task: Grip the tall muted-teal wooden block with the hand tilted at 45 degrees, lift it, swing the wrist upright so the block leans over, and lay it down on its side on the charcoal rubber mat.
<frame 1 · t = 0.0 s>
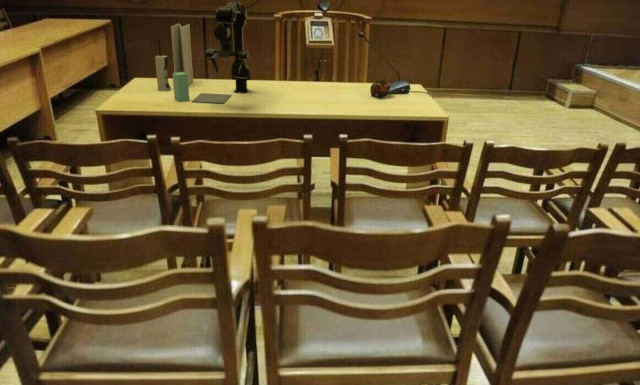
hand: (227, 73, 224), 15 cm above the table, tool pointing down, fingers open, 9 cm apart
decorative turtle: (379, 96, 258), on the table
brochure: (184, 84, 265), on the table
rubber mat: (212, 99, 240), on the table
vintage mobile phone: (164, 90, 252), on the table
teal block: (182, 100, 236), on the table
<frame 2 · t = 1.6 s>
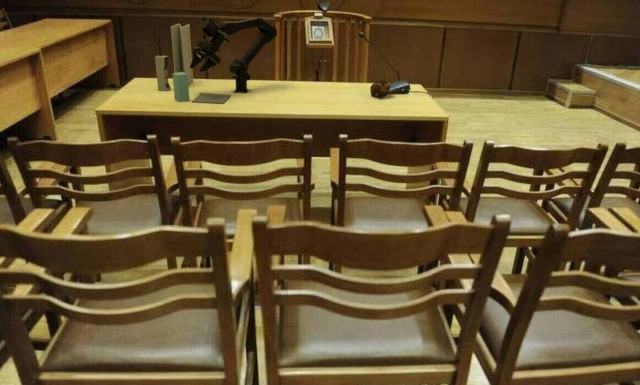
hand: (195, 69, 235), 13 cm above the table, tool tilted 45°, fingers open, 9 cm apart
nothing on the table moved.
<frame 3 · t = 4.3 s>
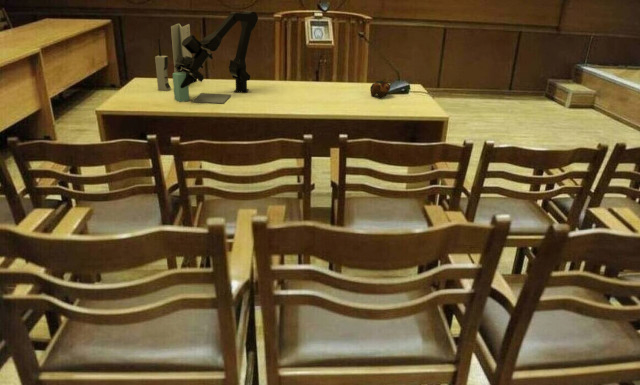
hand: (178, 86, 232), 7 cm above the table, tool tilted 45°, fingers closed on teal block, 5 cm apart
teal block: (182, 100, 236), on the table, touching gripper
everything else where it was.
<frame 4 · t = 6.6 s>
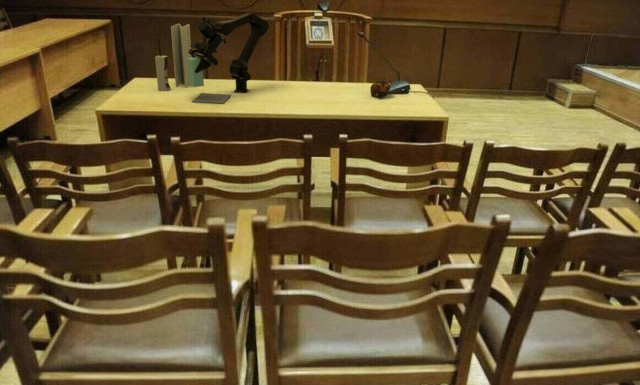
hand: (192, 71, 232), 13 cm above the table, tool tilted 45°, fingers closed on teal block, 5 cm apart
teal block: (196, 85, 235), point 7 cm above the table, touching gripper
everything else where it was.
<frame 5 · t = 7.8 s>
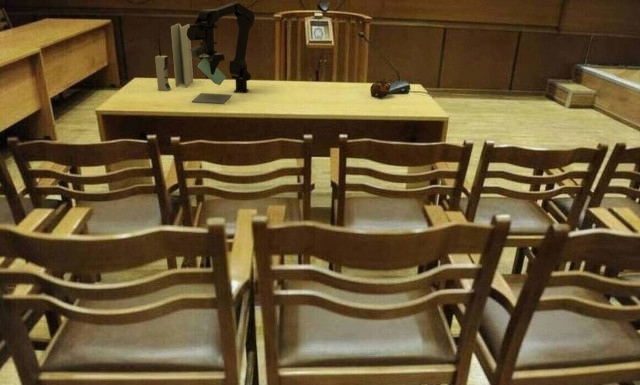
hand: (209, 73, 235), 12 cm above the table, tool pointing down, fingers closed on teal block, 5 cm apart
teal block: (220, 80, 240), point 8 cm above the table, tilted 44°, touching gripper
everything else where it was.
when the fingers open (7 cm above the table, at t = 9.1 s): teal block moves 2 cm and tips over, resting on rubber mat.
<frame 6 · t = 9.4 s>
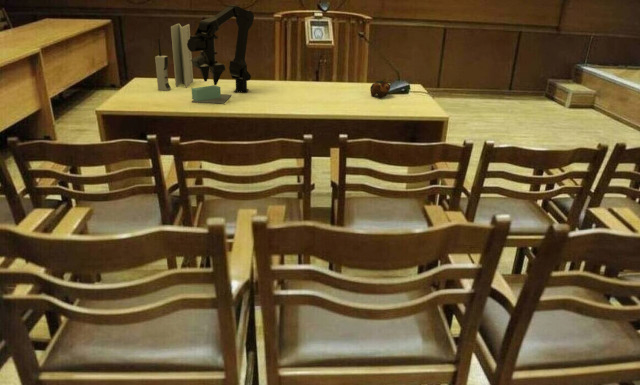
hand: (210, 83, 237), 7 cm above the table, tool pointing down, fingers open, 9 cm apart
teal block: (217, 91, 242), point 3 cm above the table, tilted 90°, touching rubber mat
everything else where it was.
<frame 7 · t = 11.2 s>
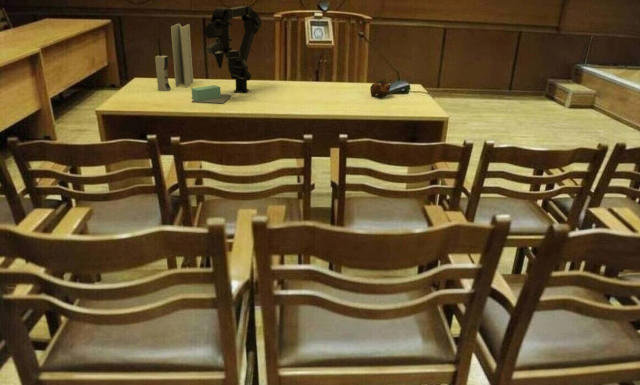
hand: (225, 69, 240), 13 cm above the table, tool pointing down, fingers open, 9 cm apart
nothing on the table moved.
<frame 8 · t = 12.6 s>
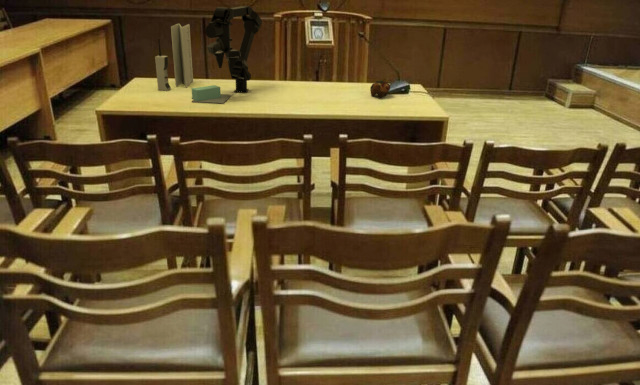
hand: (225, 69, 240), 13 cm above the table, tool pointing down, fingers open, 9 cm apart
nothing on the table moved.
at the end: teal block tilted 90°; teal block inside the target area (3.9 cm from its centre), point 3.1 cm above the table; the gripper is holding nothing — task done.
